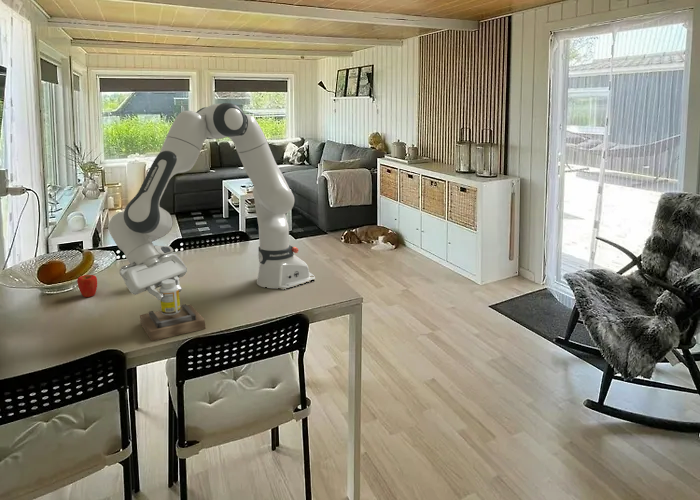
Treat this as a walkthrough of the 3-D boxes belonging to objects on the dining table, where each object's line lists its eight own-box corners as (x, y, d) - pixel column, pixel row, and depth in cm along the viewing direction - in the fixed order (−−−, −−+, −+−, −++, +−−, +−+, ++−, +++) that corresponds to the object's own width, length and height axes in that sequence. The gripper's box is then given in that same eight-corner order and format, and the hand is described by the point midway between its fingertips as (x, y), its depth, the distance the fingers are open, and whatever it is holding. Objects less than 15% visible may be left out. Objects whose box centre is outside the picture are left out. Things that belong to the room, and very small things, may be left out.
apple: (95, 291, 190) (93, 271, 188) (101, 295, 185) (98, 275, 183) (77, 295, 186) (74, 275, 184) (82, 300, 181) (79, 279, 179)
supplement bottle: (174, 307, 165) (171, 276, 162) (184, 312, 161) (181, 281, 158) (158, 312, 160) (154, 281, 158) (167, 317, 157) (165, 285, 154)
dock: (191, 312, 172) (190, 300, 171) (205, 328, 161) (204, 315, 160) (140, 323, 164) (139, 310, 162) (151, 341, 152) (150, 327, 151)
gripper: (120, 262, 150) (147, 300, 148) (175, 245, 167) (199, 279, 166) (112, 274, 153) (138, 312, 152) (166, 256, 171) (190, 290, 169)
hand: (171, 294), depth 159 cm, fingers closed on supplement bottle, 6 cm apart
